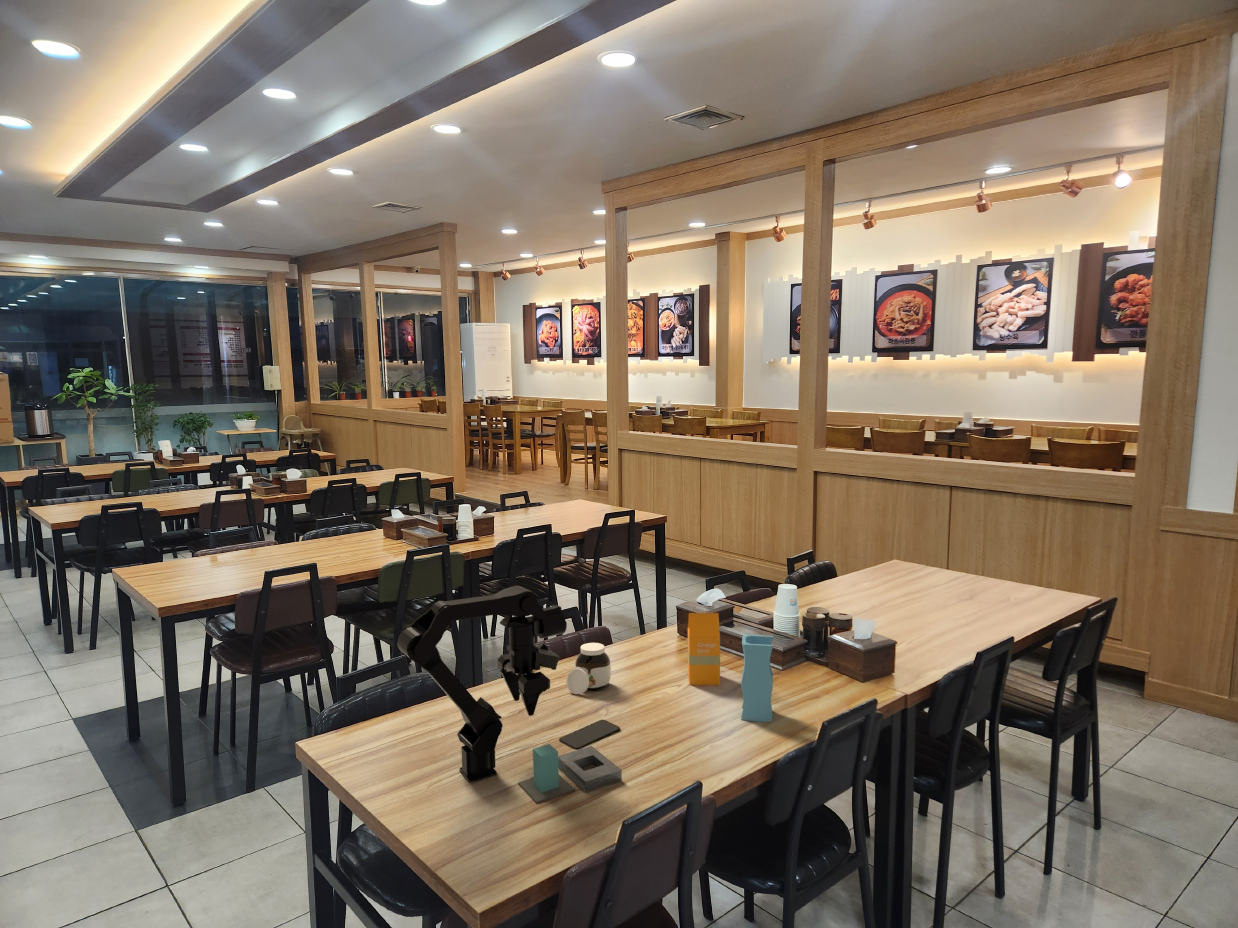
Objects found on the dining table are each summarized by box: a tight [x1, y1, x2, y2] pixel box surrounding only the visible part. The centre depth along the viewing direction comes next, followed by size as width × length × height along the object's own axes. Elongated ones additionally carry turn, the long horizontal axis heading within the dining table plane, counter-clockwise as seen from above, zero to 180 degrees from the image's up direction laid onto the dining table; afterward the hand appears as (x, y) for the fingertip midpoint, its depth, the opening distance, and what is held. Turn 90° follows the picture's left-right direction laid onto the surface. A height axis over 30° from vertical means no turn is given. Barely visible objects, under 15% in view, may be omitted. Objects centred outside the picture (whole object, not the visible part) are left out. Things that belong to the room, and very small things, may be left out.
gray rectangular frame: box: [558, 745, 623, 794], centre depth 167 cm, size 9×13×2 cm
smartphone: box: [558, 719, 621, 751], centre depth 186 cm, size 7×1×15 cm
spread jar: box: [565, 642, 612, 695], centre depth 213 cm, size 12×11×12 cm
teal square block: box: [532, 743, 560, 792], centre depth 161 cm, size 4×4×8 cm
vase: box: [740, 634, 774, 723], centre depth 195 cm, size 8×8×20 cm
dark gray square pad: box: [517, 774, 576, 804], centre depth 162 cm, size 9×9×1 cm
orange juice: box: [687, 612, 721, 686], centre depth 218 cm, size 8×9×20 cm
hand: (523, 707), depth 173 cm, fingers open, 9 cm apart
